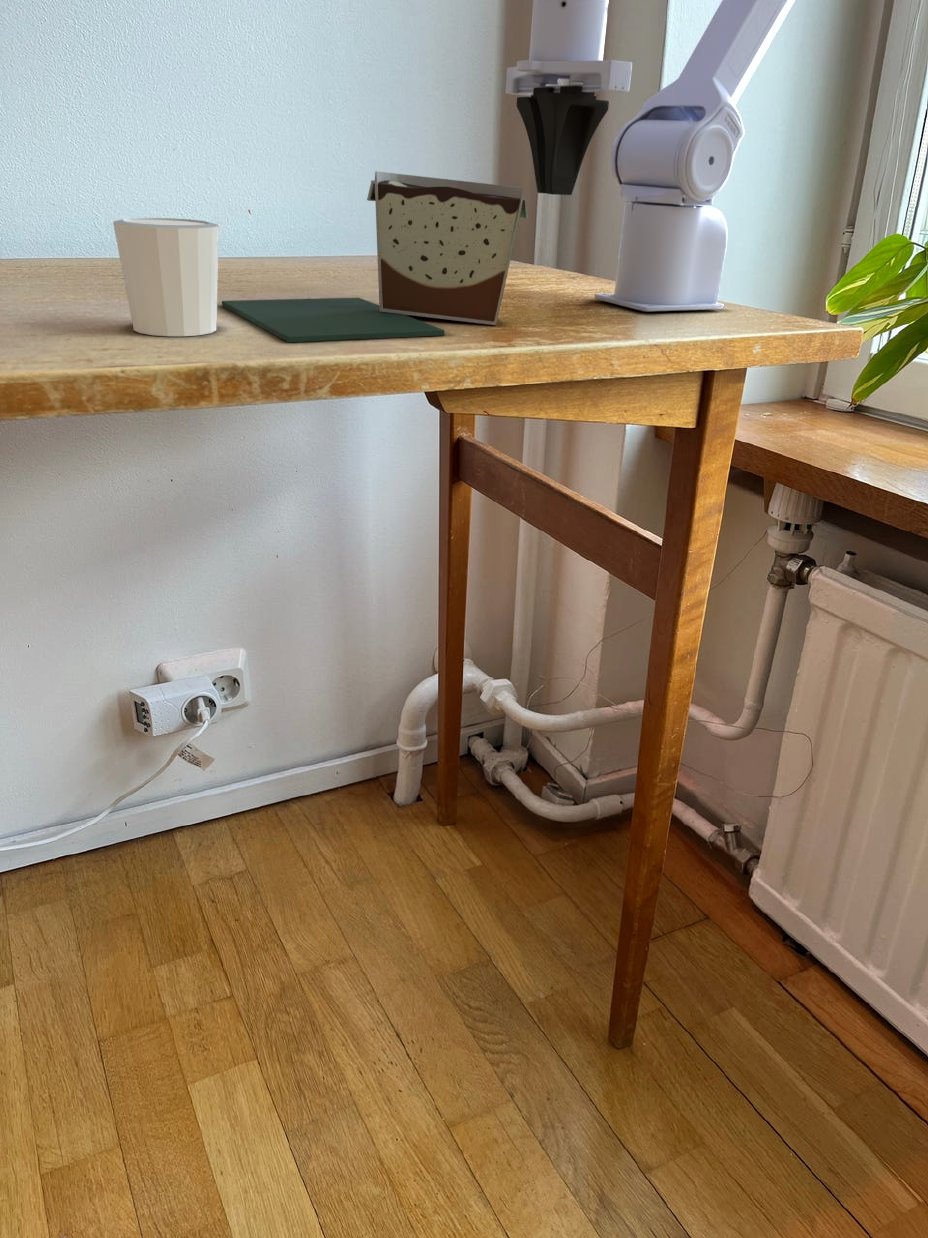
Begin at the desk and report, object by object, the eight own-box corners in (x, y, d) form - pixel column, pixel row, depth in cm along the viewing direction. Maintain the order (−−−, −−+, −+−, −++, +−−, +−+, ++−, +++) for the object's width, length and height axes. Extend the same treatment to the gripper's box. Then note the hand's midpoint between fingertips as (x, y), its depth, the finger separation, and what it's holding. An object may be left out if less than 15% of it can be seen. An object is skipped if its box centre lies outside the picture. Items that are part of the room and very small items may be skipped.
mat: (358, 302, 82) (358, 297, 82) (444, 335, 70) (444, 329, 69) (221, 305, 77) (221, 300, 76) (288, 342, 64) (288, 336, 64)
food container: (518, 318, 80) (534, 188, 76) (515, 327, 74) (531, 188, 70) (375, 301, 81) (382, 171, 76) (361, 309, 75) (368, 170, 71)
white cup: (133, 339, 62) (122, 225, 59) (115, 322, 68) (104, 216, 65) (236, 335, 65) (231, 226, 62) (212, 319, 71) (205, 217, 68)
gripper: (478, 0, 76) (469, 186, 82) (583, -20, 64) (563, 198, 70) (551, 10, 79) (538, 189, 85) (663, -7, 68) (638, 200, 74)
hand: (554, 193), depth 78 cm, fingers closed
